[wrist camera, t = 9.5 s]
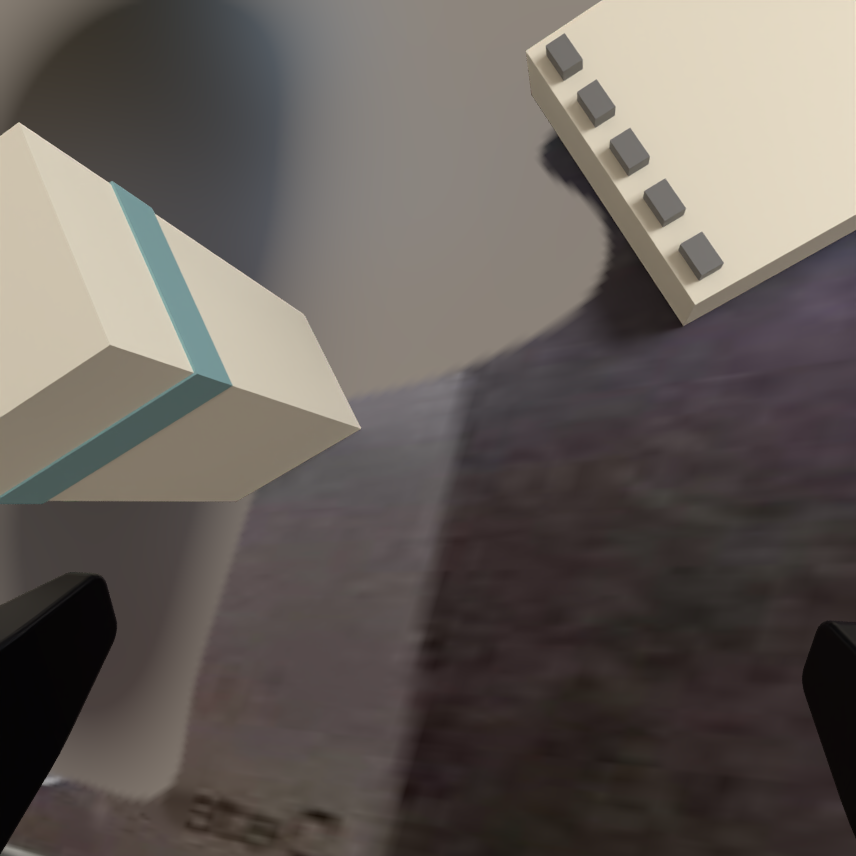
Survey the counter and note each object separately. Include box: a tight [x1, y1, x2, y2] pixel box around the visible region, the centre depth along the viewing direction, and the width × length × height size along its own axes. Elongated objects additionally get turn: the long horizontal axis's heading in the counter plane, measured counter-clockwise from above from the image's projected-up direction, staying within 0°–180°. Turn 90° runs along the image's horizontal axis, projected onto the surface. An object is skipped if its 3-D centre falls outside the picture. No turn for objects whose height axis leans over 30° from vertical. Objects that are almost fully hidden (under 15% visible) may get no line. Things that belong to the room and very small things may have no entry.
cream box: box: [0, 123, 361, 504], centre depth 16 cm, size 5×5×11 cm
